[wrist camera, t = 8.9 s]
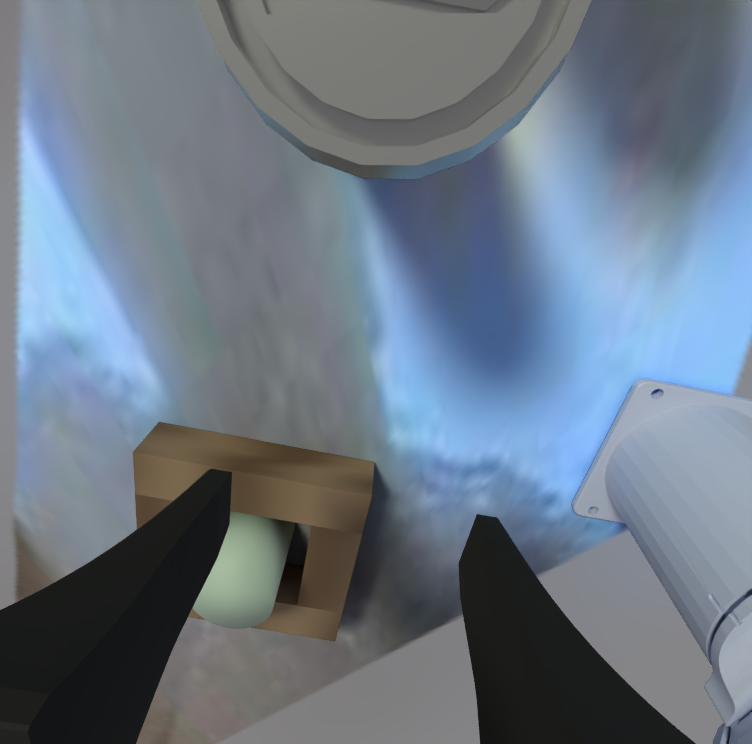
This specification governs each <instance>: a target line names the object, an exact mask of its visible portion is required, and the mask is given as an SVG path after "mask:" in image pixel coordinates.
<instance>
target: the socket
mask: <svg viewBox="0 0 752 744" xmlns="http://www.w3.org/2000/svg"><path fill="white" fill-rule="evenodd" d="M133 462H134V481H135V500H136V519H137V529H138V528H140V527H141V526H142V525H144V524H145V523H146V522H148V521H149V520H150V519H152V518H153V517H154V516H155V515H157V514H158V513H159V512H160V511H162V510H163V509H164V508H165V507H166V506H168V505H169V504H170V503H171V502H172V501H174V500H175V499H176V498H177V497H178V496H180V495H181V494H182V493H183V492H184V491H185V490H186V489H188V488H189V487H190V486H191V485H192V484H193V483H194V482H195V481H197V480H198V479H199V478H200V477H201V476H202V475H203V474H204V473H205V472H206V471H208V470H209V469H217V470H223V471H229V472H232V485H231V505H230V511H233V512H239V513H245V514H250V515H256V516H262V517H267V518H273V519H278V520H284V521H290V522H295V523H301V524H306V525H312V526H311V532H310V537H309V543H308V548H307V554H306V559H305V565H304V567H300V566H294V565H288V564H285V566H284V569H283V573H282V577H281V580H280V584H279V588H278V592H277V595H276V599H275V603H274V607H273V610H272V613H271V615H270V616H269V617H268V618H267V619H266V620H265V621H264V622H263V623H261V624H259V625H256V626H253V627H252V628H258V629H264V630H270V631H276V632H282V633H288V634H294V635H300V636H306V637H312V638H318V639H324V640H330V641H335V640H336V636H337V632H338V628H339V624H340V620H341V616H342V612H343V608H344V604H345V601H346V597H347V593H348V589H349V585H350V581H351V577H352V573H353V569H354V565H355V561H356V557H357V553H358V549H359V545H360V541H361V537H362V533H363V529H364V526H365V522H366V518H367V514H368V510H369V506H370V502H371V498H372V489H373V475H374V462H370V461H365V460H360V459H354V458H349V457H344V456H338V455H333V454H328V453H322V452H317V451H312V450H306V449H301V448H295V447H290V446H285V445H279V444H274V443H269V442H263V441H258V440H253V439H247V438H242V437H237V436H231V435H226V434H221V433H215V432H210V431H204V430H199V429H194V428H188V427H183V426H178V425H172V424H167V423H162V422H159V423H158V424H157V425H156V426H155V427H154V428H153V430H152V431H151V432H150V433H149V434H148V435H147V436H146V438H145V439H144V440H143V441H142V442H141V443H140V445H139V446H138V447H137V448H136V449H135V450H134V451H133ZM188 617H191V618H197V619H203V620H205V619H204V618H202V617H201V616H200V615H198V614H197V613H196V612H195V611H194V610H193V608H192V610H191V612H190V614H189V616H188Z"/></svg>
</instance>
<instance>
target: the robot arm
mask: <svg viewBox="0 0 752 744" xmlns="http://www.w3.org/2000/svg"><path fill="white" fill-rule="evenodd" d="M656 389H659V391H658V392H657V393H656V394H654V395H651V393H652V392H653V391H654V390H656ZM231 485H232V472H229V471H223V470H217V469H209V470H208V471H206V472H205V473H204V474H203V475H202V476H201V477H200V478H199V479H198V480H197V481H195V482H194V483H193V484H192V485H191V486H190V487H189V488H188V489H186V490H185V491H184V492H183V493H182V494H181V495H180V496H178V497H177V498H176V499H175V500H174V501H172V502H171V503H170V504H169V505H168V506H166V507H165V508H164V509H163V510H162V511H160V512H159V513H158V514H157V515H155V516H154V517H153V518H152V519H150V520H149V521H148V522H146V523H145V524H144V525H142V526H141V527H140V528H138V529H137V530H136V531H134V532H133V533H132V534H130V535H129V536H128V537H126V538H125V539H124V540H122V541H121V542H119V543H118V544H116V545H115V546H113V547H112V548H110V549H109V550H107V551H106V552H104V553H103V554H101V555H100V556H98V557H97V558H95V559H94V560H92V561H90V562H89V563H87V564H86V565H84V566H82V567H81V568H79V569H77V570H75V571H74V572H72V573H70V574H69V575H67V576H65V577H64V578H62V579H60V580H58V581H57V582H55V583H53V584H51V585H49V586H48V587H46V588H44V589H42V590H40V591H38V592H36V593H34V594H32V595H30V596H28V597H26V598H24V599H22V600H20V601H18V602H16V603H14V604H12V605H10V606H8V607H6V608H4V609H2V610H0V744H136V742H137V739H138V737H139V734H140V731H141V728H142V726H143V723H144V721H145V718H146V715H147V713H148V710H149V707H150V705H151V702H152V700H153V697H154V694H155V692H156V689H157V687H158V684H159V682H160V679H161V676H162V674H163V671H164V669H165V666H166V664H167V661H168V659H169V656H170V654H171V651H172V649H173V647H174V645H175V642H176V640H177V638H178V636H179V634H180V632H181V630H182V628H183V626H184V624H185V622H186V620H187V618H188V616H189V614H190V612H191V610H192V608H193V606H194V604H195V602H196V600H197V598H198V596H199V594H200V592H201V590H202V588H203V586H204V584H205V582H206V580H207V578H208V576H209V574H210V572H211V570H212V568H213V566H214V564H215V562H216V560H217V557H218V555H219V552H220V550H221V547H222V544H223V541H224V539H225V536H226V533H227V530H228V527H229V525H230V505H231ZM591 507H594V508H592V509H589V508H591ZM572 508H573V510H574V512H575V513H576V514H578V515H581V516H587V517H592V518H598V519H603V520H608V521H614V522H619V523H625V524H626V526H627V527H628V529H629V531H630V532H631V534H632V536H633V537H634V539H635V541H636V542H637V544H638V545H639V547H640V549H641V550H642V552H643V554H644V555H645V557H646V559H647V560H648V562H649V564H650V565H651V567H652V568H653V570H654V572H655V573H656V575H657V577H658V578H659V580H660V582H661V583H662V585H663V586H664V588H665V590H666V591H667V593H668V595H669V596H670V598H671V600H672V601H673V603H674V605H675V606H676V608H677V609H678V611H679V613H680V615H681V616H682V618H683V619H684V621H685V623H686V624H687V626H688V628H689V629H690V631H691V633H692V634H693V636H694V638H695V639H696V641H697V642H698V644H699V646H700V647H701V649H702V651H703V652H704V654H705V656H706V657H707V659H708V661H709V662H710V664H711V665H712V668H713V672H712V675H711V677H710V679H709V680H708V681H707V683H706V684H705V685H704V688H705V690H706V692H707V693H708V695H709V697H710V699H711V700H712V702H713V704H714V706H715V707H716V709H717V711H718V713H719V714H720V716H721V718H722V719H723V721H724V723H723V724H722V725H721V726H720V727H719V728H718V730H717V733H716V735H715V737H714V740H713V744H752V400H751V399H746V398H741V397H736V396H731V395H727V394H722V393H717V392H712V391H707V390H702V389H697V388H692V387H687V386H682V385H677V384H672V383H667V382H662V381H657V380H652V379H644V378H643V379H640V380H638V381H637V382H635V383H634V385H633V386H632V388H631V390H630V392H629V393H628V395H627V397H626V399H625V401H624V403H623V405H622V407H621V409H620V411H619V413H618V415H617V417H616V419H615V421H614V423H613V424H612V426H611V428H610V430H609V432H608V434H607V436H606V438H605V440H604V442H603V444H602V446H601V448H600V450H599V452H598V454H597V455H596V457H595V459H594V461H593V463H592V465H591V467H590V469H589V471H588V473H587V475H586V477H585V479H584V481H583V483H582V485H581V486H580V488H579V490H578V492H577V494H576V496H575V498H574V500H573V502H572ZM459 581H460V598H461V605H462V611H463V617H464V622H465V629H466V634H467V640H468V646H469V652H470V658H471V663H472V670H473V675H474V682H475V689H476V697H477V707H478V720H479V733H480V744H695V743H694V742H693V741H692V740H691V739H689V738H688V737H687V736H686V735H684V734H683V733H682V732H681V731H680V730H678V729H677V728H676V727H675V726H674V725H672V724H671V723H670V722H669V721H668V720H667V719H666V718H664V717H663V716H662V715H661V714H660V713H659V712H658V711H657V710H656V709H654V708H653V707H652V706H651V705H650V704H649V703H648V702H647V701H646V700H645V699H643V698H642V697H641V696H640V695H639V694H638V693H637V692H636V691H635V690H634V689H633V688H632V687H631V686H630V685H629V684H628V683H627V682H626V681H625V680H624V679H623V678H622V677H621V676H620V675H619V674H618V673H617V672H616V671H615V670H614V669H613V668H612V667H611V666H610V665H609V664H608V663H607V662H606V661H605V660H604V659H603V658H602V657H601V656H600V655H599V654H598V653H597V652H596V650H595V649H594V648H593V647H592V646H591V645H590V644H589V643H588V642H587V640H586V639H585V638H584V637H583V636H582V635H581V633H580V632H579V631H578V630H577V629H576V628H575V627H574V626H573V624H572V623H571V622H570V621H569V619H568V618H567V617H566V616H565V614H564V613H563V612H562V611H561V609H560V608H559V607H558V605H557V604H556V603H555V602H554V600H553V599H552V598H551V596H550V595H549V594H548V592H547V591H546V590H545V588H544V587H543V585H542V584H541V583H540V582H539V580H538V578H537V577H536V575H535V574H534V573H533V571H532V570H531V568H530V567H529V565H528V564H527V562H526V561H525V559H524V558H523V556H522V555H521V553H520V552H519V550H518V549H517V547H516V546H515V544H514V543H513V541H512V539H511V538H510V536H509V535H508V533H507V532H506V530H505V529H504V527H503V526H502V524H501V522H500V521H499V519H498V518H496V517H490V516H484V515H479V514H477V516H476V518H475V521H474V524H473V526H472V529H471V532H470V534H469V537H468V540H467V542H466V545H465V548H464V550H463V553H462V556H461V558H460V561H459Z"/></svg>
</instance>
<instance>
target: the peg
mask: <svg viewBox="0 0 752 744" xmlns="http://www.w3.org/2000/svg"><path fill="white" fill-rule="evenodd" d="M294 528H295V522H290V521H284V520H278V519H273V518H267V517H262V516H256V515H250V514H245V513H239V512H233V511H230V525H229V527H228V530H227V533H226V536H225V539H224V541H223V544H222V547H221V550H220V552H219V555H218V557H217V560H216V562H215V564H214V566H213V568H212V570H211V572H210V574H209V576H208V578H207V580H206V582H205V584H204V586H203V588H202V590H201V592H200V594H199V596H198V598H197V600H196V602H195V604H194V606H193V610H194V611H195V612H196V613H197V614H198V615H200V616H201V617H202V618H204V619H205V620H207V621H209V622H211V623H213V624H216V625H219V626H222V627H227V628H237V629H240V628H249V627H253V626H256V625H259V624H261V623H263V622H264V621H265V620H266V619H267V618H268V617H269V616H270V615H271V613H272V610H273V607H274V603H275V599H276V595H277V592H278V588H279V584H280V580H281V577H282V573H283V569H284V566H285V562H286V558H287V554H288V551H289V547H290V543H291V539H292V536H293V532H294Z"/></svg>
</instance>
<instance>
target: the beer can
mask: <svg viewBox="0 0 752 744" xmlns="http://www.w3.org/2000/svg"><path fill="white" fill-rule="evenodd" d="M591 1H592V0H197V2H198V5H199V7H200V10H201V13H202V15H203V18H204V20H205V23H206V25H207V28H208V30H209V33H210V36H211V38H212V41H213V43H214V46H215V48H216V50H217V51H218V53H219V54H220V55H221V57H222V58H223V60H224V63H225V66H226V68H227V71H228V72H229V74H230V75H231V76H232V78H233V79H234V81H235V82H236V83H237V85H238V86H239V87H240V89H241V90H242V92H243V93H244V94H245V96H246V97H247V99H248V100H249V101H250V103H251V104H252V105H253V107H254V108H255V110H256V111H257V112H258V114H259V115H260V117H261V118H262V119H263V121H264V122H265V123H266V125H268V126H269V127H270V128H272V129H273V130H274V131H275V132H277V133H278V134H279V135H281V136H282V137H283V138H284V139H286V140H287V141H288V142H290V143H291V144H292V145H293V146H295V147H296V148H297V149H299V150H300V151H301V152H302V153H304V154H305V155H306V156H308V157H309V158H310V159H311V160H313V161H316V162H319V163H321V164H324V165H327V166H330V167H333V168H335V169H338V170H341V171H344V172H346V173H349V174H352V175H355V176H358V177H360V178H363V179H418V178H421V177H424V176H427V175H430V174H433V173H436V172H439V171H441V170H444V169H447V168H450V167H453V166H456V165H459V164H462V163H465V162H468V161H470V160H471V159H473V158H474V157H475V156H477V155H478V154H479V153H481V152H482V151H483V150H485V149H486V148H488V147H489V146H490V145H492V144H493V143H494V142H496V141H497V140H498V139H500V138H501V137H502V136H504V135H505V134H506V133H508V132H509V131H511V130H512V129H513V128H515V127H516V126H517V125H518V124H519V123H520V122H521V121H522V119H523V118H524V117H525V115H526V114H527V113H528V111H529V110H530V109H531V108H532V106H533V105H534V104H535V102H536V101H537V100H538V99H539V97H540V96H541V95H542V93H543V92H544V91H545V89H546V88H547V87H548V86H549V84H550V83H551V82H552V80H553V79H554V78H555V77H556V75H557V74H558V73H559V71H560V70H561V67H562V65H563V63H564V60H565V58H566V56H567V53H568V51H569V50H570V49H571V47H572V45H573V43H574V40H575V38H576V36H577V33H578V31H579V29H580V26H581V24H582V22H583V19H584V17H585V15H586V12H587V10H588V8H589V5H590V3H591Z"/></svg>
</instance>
